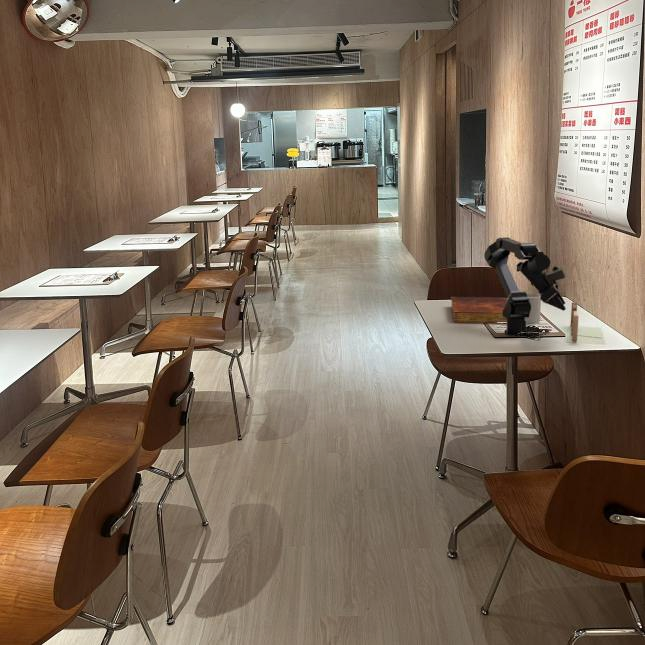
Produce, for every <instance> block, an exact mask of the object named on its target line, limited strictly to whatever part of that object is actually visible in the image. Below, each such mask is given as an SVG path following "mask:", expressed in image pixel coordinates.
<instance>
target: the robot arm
mask: <svg viewBox="0 0 645 645" xmlns="http://www.w3.org/2000/svg"><path fill="white" fill-rule="evenodd" d="M511 253H512V254H514V257H515V258H516V259H517V260H521V261H519V262H518V263H517V264H516V272H517V273H518V272H520V273H521V274H522V275H523V276H524V277H525V278H526V279H527V281H529V282H530V285H531V286H533V287H534V288H535V289H536V290H537V291H538V294H539V295H541V296H540V299H541V302H542V303H544V304H546V305H549V306H553V307H555V308H556V309H559V310H561V311H566V309H567V308H566V306H565V304H566V302H565V299H564V298H563V297H562V295H561V293H560V291H559V283H558V281H559V280H563V279H565V278H566V273H565V272H564V270H563V267H559V266H557V265H555V266H553V267H552V271H551V270H550V271H549V272H546V271H547V269H548V268H550V266H551V260H550V258H549V256H548V255H546V254H544V251H543V250H541V249H540V248H539V247H538V245H537V244H536V243H535V242H520V241H517V240H515V239H511V237H498V238H496V239H495V242H492V243H491V244H490V245H489V246H487V248H486V250H485V251H484V255H483V256H484V260H485V261H486V264H487V265H488V267H490V268H491V269H494V270H495V272H496V274H497V277H498V279H499V281H500V283H501V285H502V288H503V290H504V293H505V295H506V298H507V302H506V306H505V308H504V309H503V317H505V318H507V324H506V327H505V328H506V329H505V332H507V333H506V335H508V334H518V333H520V332H521V331H523V330H525V329H526V330H527V324H526V321H525V318H526V317H527V318H529V315H530V311H531V303H530V301H529V300H530V299H529V298H528V296H527V294H526V293H527V292H526V291H520V289H519V288H518V285H517V283H516V280H515V279H514V276H513V273H512V271H511V270H510V268H509V265H508V260H509V257H510V255H511ZM545 270H546V271H545Z"/></svg>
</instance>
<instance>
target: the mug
mask: <svg viewBox="0 0 645 645" xmlns="http://www.w3.org/2000/svg"><path fill="white" fill-rule="evenodd" d="M526 294H527V296H528V298H529V299H530V300H529V301H530V303H531V311H530V315H529V318H527V317H526V318H525V321H526V323H530V324H529V325H535V323H537V324H540V323H541V310H542V309H541V305H542V300H541V299H540V296H541V294H540V293H532V292H530V293H529V292H526ZM539 322H540V323H539Z"/></svg>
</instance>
